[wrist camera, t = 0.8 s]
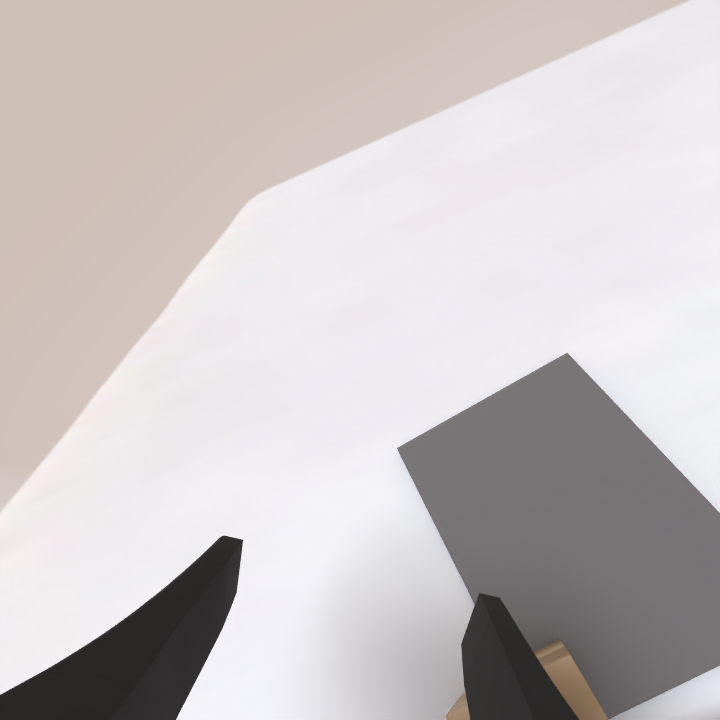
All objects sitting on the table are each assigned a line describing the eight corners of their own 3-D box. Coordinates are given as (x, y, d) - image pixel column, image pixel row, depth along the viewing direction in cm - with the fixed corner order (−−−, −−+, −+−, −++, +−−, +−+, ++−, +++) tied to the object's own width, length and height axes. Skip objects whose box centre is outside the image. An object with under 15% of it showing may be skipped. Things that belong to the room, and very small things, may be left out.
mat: (814, 617, 17) (818, 617, 17) (546, 746, 18) (547, 748, 18) (566, 355, 27) (567, 352, 27) (398, 449, 28) (396, 448, 28)
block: (594, 698, 18) (621, 741, 13) (497, 744, 19) (482, 808, 13) (559, 638, 20) (570, 654, 14) (470, 683, 20) (445, 716, 15)
